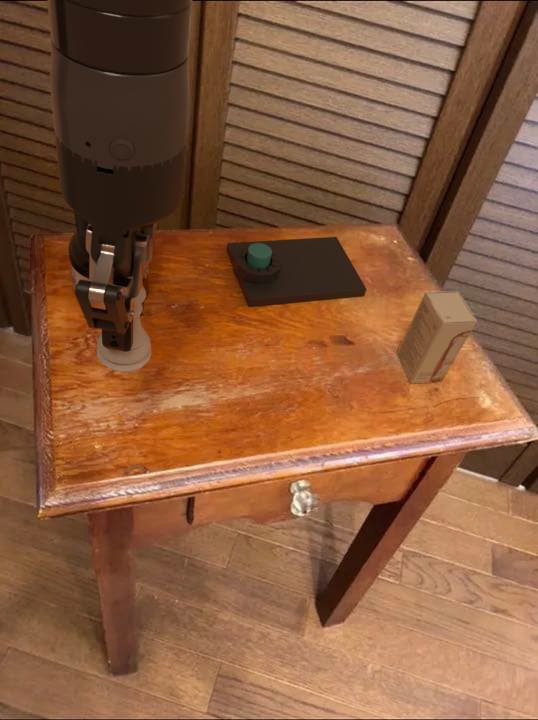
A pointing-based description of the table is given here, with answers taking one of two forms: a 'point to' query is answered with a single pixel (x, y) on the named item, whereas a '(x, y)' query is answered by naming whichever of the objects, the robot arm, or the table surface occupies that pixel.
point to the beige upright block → (435, 336)
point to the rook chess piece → (138, 350)
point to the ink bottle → (83, 254)
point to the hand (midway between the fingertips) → (123, 328)
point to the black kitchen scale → (296, 272)
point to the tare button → (259, 255)
